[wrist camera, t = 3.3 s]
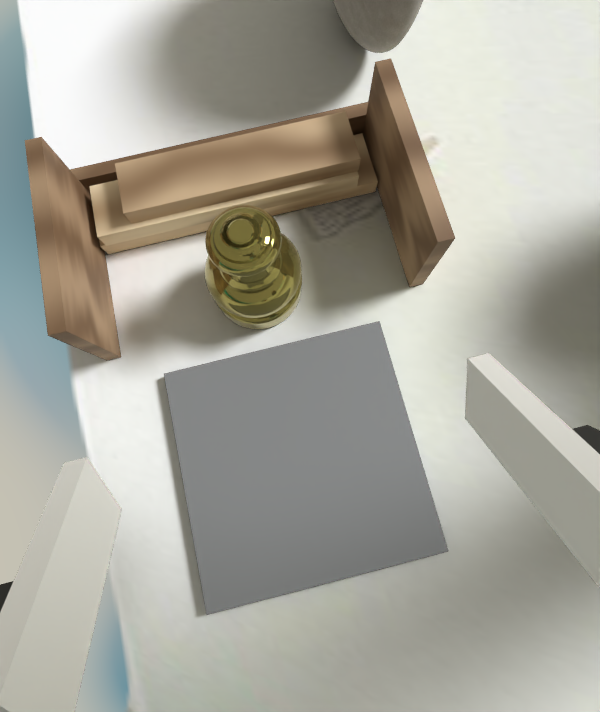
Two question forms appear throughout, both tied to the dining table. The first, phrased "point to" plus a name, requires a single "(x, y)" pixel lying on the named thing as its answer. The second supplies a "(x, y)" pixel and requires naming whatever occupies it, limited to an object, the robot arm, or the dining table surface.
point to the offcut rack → (226, 198)
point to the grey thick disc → (378, 21)
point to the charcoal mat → (299, 467)
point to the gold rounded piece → (252, 268)
